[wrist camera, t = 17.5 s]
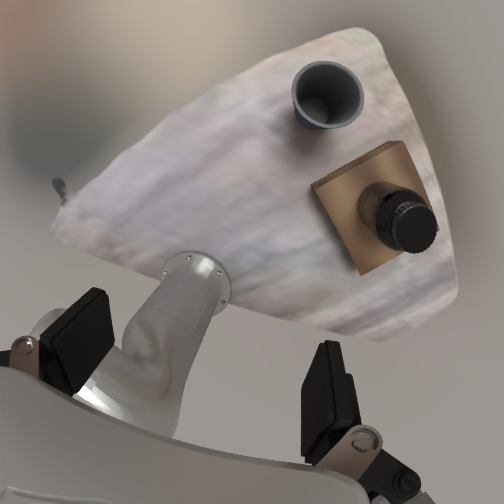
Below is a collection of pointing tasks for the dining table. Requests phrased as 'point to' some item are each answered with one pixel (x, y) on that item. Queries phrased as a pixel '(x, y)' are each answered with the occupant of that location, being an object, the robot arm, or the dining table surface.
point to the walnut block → (348, 194)
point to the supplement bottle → (397, 217)
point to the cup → (326, 95)
